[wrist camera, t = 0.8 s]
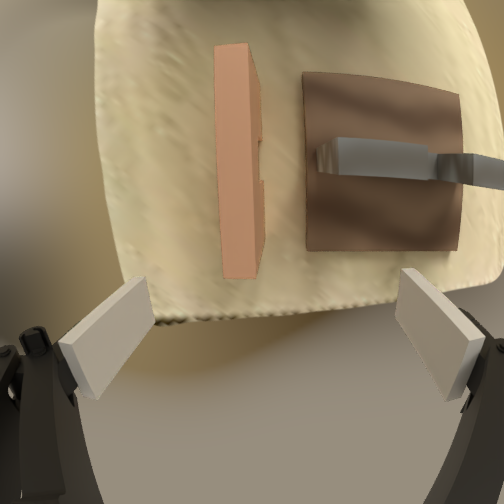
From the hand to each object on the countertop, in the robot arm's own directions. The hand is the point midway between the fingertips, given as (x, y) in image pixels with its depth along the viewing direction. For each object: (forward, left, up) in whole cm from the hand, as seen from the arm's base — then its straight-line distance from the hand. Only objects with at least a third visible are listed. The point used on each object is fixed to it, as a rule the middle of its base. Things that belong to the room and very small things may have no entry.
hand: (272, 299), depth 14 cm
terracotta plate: (-7, -3, -20) cm, 21 cm away
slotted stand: (-7, +13, -20) cm, 25 cm away
